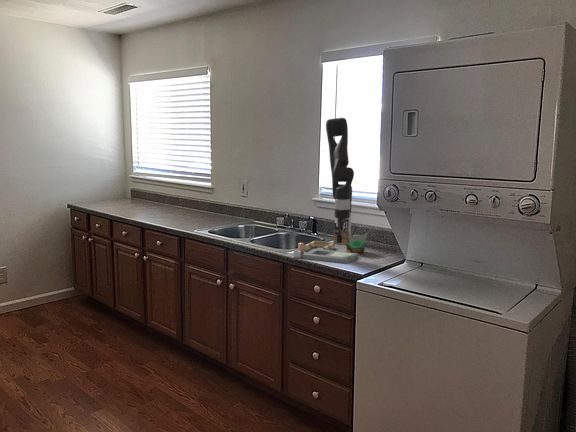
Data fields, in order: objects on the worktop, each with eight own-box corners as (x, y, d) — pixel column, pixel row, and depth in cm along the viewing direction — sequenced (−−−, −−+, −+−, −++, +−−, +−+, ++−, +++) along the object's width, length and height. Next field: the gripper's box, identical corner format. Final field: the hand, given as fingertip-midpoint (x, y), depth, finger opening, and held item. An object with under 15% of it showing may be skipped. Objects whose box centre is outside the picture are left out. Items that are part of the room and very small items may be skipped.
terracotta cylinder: (299, 253, 267) (299, 242, 266) (304, 254, 266) (305, 242, 265) (297, 254, 264) (297, 243, 263) (302, 255, 263) (302, 244, 262)
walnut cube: (337, 242, 259) (338, 230, 258) (349, 243, 256) (349, 231, 255) (333, 244, 253) (333, 232, 252) (345, 245, 251) (345, 233, 250)
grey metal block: (294, 256, 262) (294, 249, 261) (301, 256, 262) (301, 249, 261) (293, 257, 259) (293, 251, 258) (300, 258, 258) (300, 251, 258)
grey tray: (314, 252, 270) (314, 248, 270) (357, 257, 260) (357, 252, 260) (302, 258, 257) (302, 254, 257) (347, 263, 247) (347, 259, 246)
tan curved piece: (314, 245, 285) (314, 240, 285) (334, 248, 280) (334, 242, 280) (304, 251, 273) (304, 245, 273) (324, 253, 268) (324, 247, 267)
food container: (348, 255, 264) (348, 236, 262) (344, 252, 270) (344, 233, 268) (370, 254, 267) (371, 235, 265) (365, 251, 273) (366, 232, 271)
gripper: (340, 205, 260) (339, 238, 263) (329, 209, 247) (329, 243, 250) (354, 206, 257) (353, 239, 259) (344, 210, 244) (343, 244, 247)
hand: (341, 241), depth 255 cm, fingers closed on walnut cube, 6 cm apart
